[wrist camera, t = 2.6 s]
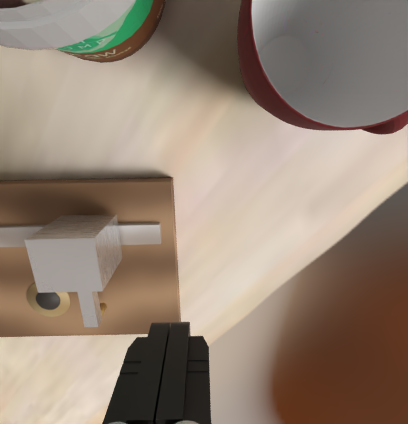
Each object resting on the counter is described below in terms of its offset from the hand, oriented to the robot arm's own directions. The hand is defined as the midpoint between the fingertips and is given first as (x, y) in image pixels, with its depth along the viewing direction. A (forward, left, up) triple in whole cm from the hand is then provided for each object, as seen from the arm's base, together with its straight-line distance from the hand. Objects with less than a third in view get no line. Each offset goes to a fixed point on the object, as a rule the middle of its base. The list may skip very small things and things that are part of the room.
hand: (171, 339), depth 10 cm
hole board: (+3, -13, -12) cm, 18 cm away
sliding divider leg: (+2, -7, -10) cm, 12 cm away
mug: (-11, +8, -12) cm, 18 cm away
